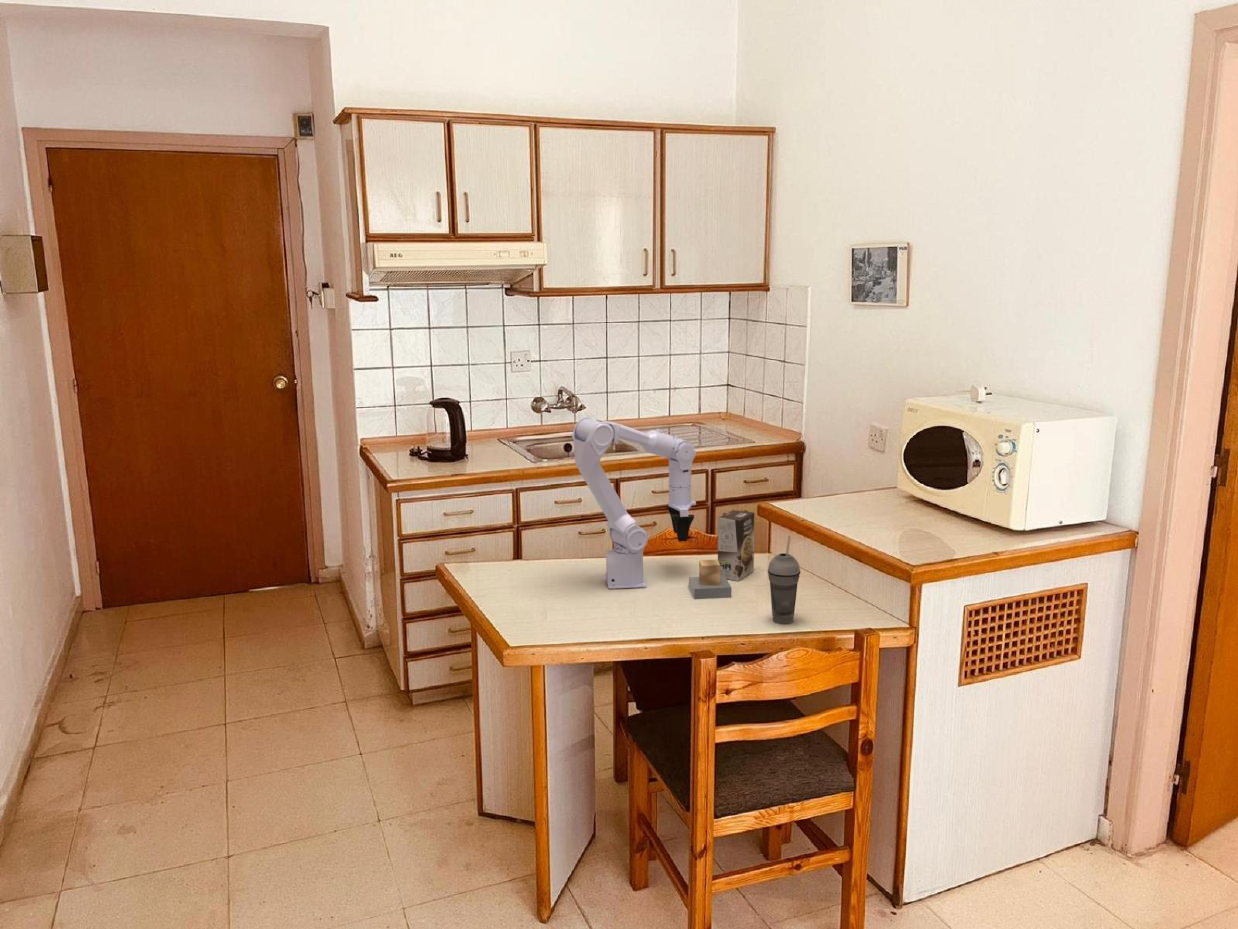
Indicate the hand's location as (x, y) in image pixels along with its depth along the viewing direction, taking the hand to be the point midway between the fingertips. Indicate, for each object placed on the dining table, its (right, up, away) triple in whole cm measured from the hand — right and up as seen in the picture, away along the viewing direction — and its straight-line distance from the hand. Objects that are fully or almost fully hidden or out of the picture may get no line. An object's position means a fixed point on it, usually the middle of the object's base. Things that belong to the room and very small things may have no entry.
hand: (680, 536), depth 250 cm
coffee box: (+14, -10, 0) cm, 18 cm away
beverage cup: (+21, -17, -32) cm, 41 cm away
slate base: (+6, -13, -12) cm, 19 cm away
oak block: (+6, -10, -13) cm, 17 cm away
